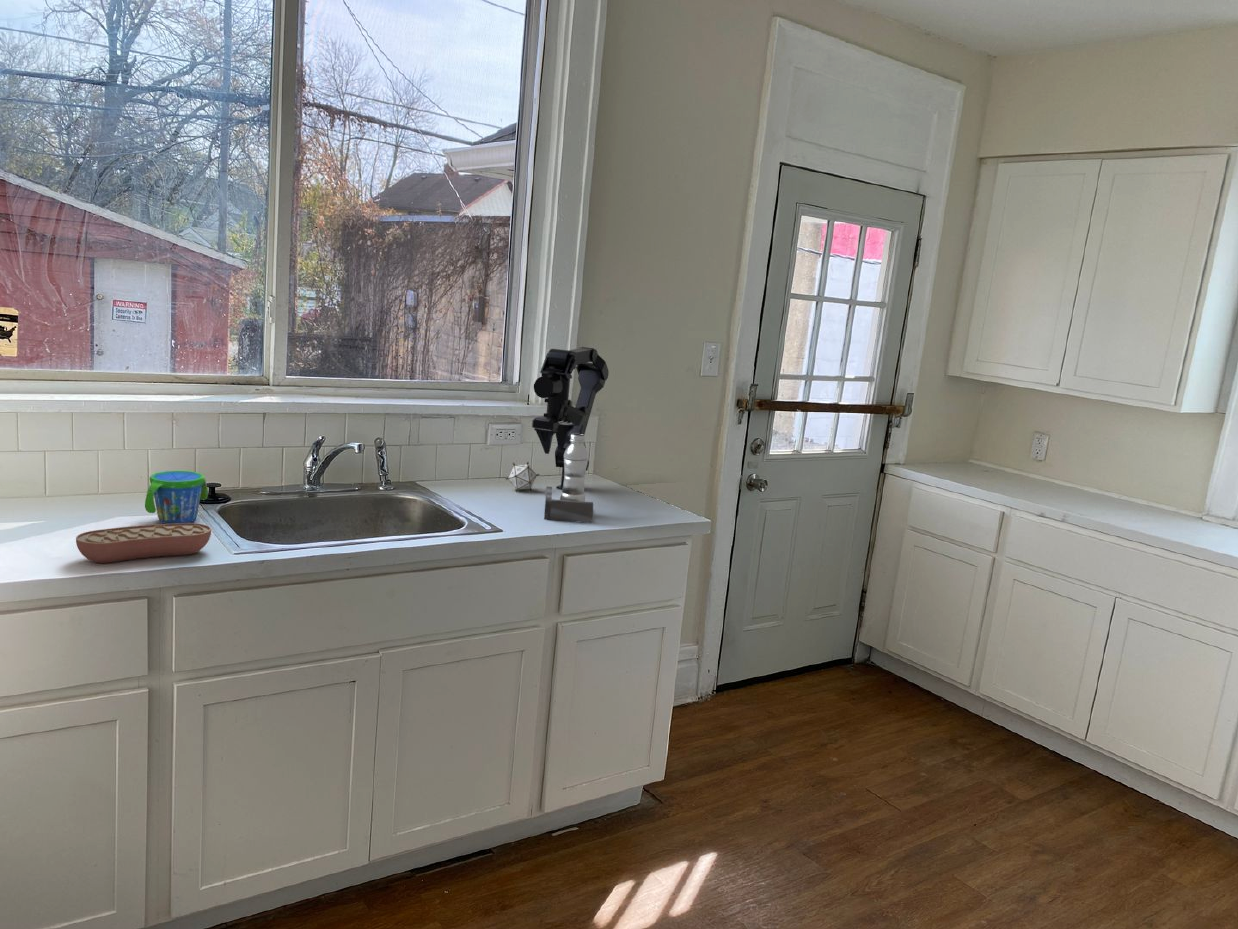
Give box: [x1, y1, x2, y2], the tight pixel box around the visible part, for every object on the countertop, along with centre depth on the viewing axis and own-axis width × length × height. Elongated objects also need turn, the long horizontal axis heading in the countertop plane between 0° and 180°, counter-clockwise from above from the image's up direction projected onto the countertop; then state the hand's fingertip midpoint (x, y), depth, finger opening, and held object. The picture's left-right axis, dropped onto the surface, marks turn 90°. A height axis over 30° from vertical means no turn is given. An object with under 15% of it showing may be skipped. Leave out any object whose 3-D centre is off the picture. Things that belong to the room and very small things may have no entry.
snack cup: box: [144, 470, 209, 524], centre depth 195 cm, size 16×10×10 cm
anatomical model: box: [75, 522, 212, 564], centre depth 171 cm, size 23×10×5 cm, turn 129°
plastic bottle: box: [559, 434, 589, 502], centre depth 231 cm, size 6×7×20 cm
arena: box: [543, 486, 594, 524], centre depth 233 cm, size 16×12×5 cm
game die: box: [504, 461, 540, 493], centre depth 254 cm, size 9×8×10 cm
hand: (553, 451), depth 248 cm, fingers open, 9 cm apart
